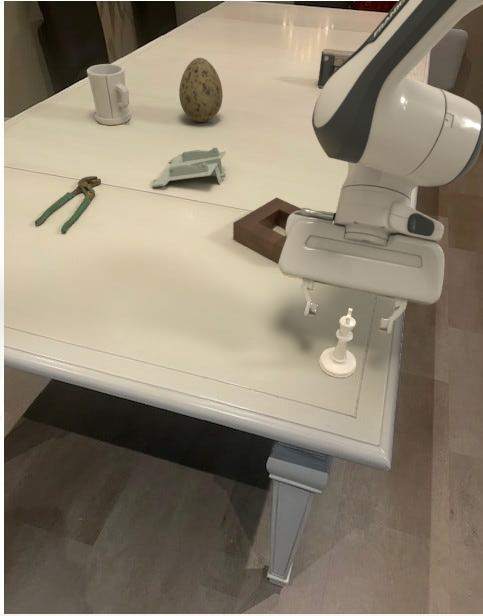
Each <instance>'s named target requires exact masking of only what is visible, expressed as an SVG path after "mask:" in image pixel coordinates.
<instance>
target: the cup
mask: <svg viewBox="0 0 483 616" xmlns="http://www.w3.org/2000/svg"><path fill="white" fill-rule="evenodd" d="M86 69H87V70H86V75H87V78H88V81H89V86H90V89H91V93H92V98H93V102H94V107H95V113H94V117H95V120H96V122H97V123H99V124H101V125H104V126H118V125H122V124H125V123H127V122H128V121H129V120H130V119H131V112H130V110H129V108H128V106H129V105H130V92H129V89H128V87H127V86H126V77H125V76H126V75H125V68H124V66H123V65H119V64H113V63H103V64H102V63H101V64H96V65H92V66H89V67H88V68H86Z"/></svg>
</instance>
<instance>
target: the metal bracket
mask: <svg viewBox="0 0 483 616" xmlns="http://www.w3.org/2000/svg"><path fill="white" fill-rule="evenodd" d="M226 154H227V152H226V151H219V149H218V148H217V147H216V146H214V147H212V148H211V149H210V150H202V149H195V150H188V151H183V152H182V153H179V154H178V155H176V156H175V157H173V158H171V159H170V160H169V161H168V163H169V165H168V166H167V167H166V168H165V170H164V171H163V172H162V174H161V175H160V176H159V177H158V178H155V179H152V181H151V187H152V188H156V187H157V188H158V187H164V186H166V185H167V184H168V183H169V182H170V181H172V182H173V181H180V180H187V179H188V180H189V179H194V178H195V179H196V178H203V177H209V176H211V175H212V174H213V172H215V176H216V179H217V183H218V185H221V184H222V182H223V181H224V179H225V178H227V173H225V172H224V168H223V165H222V159H223V158H224V156H225V155H226Z"/></svg>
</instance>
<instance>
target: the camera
mask: <svg viewBox="0 0 483 616" xmlns="http://www.w3.org/2000/svg"><path fill="white" fill-rule="evenodd" d="M354 52H355V51H354V50H353V51H351V50H344V49H333V48H323V49H322V51H321V54H320V55H321V56H320V64H319V71H318V72H319V73H318V80H317V86H318V88H319V89H323V87H324V85H325V83H326V82H327V80H328V79H329V78H330V76H331V75H332V74H333V72H334V71H335V70H336V69H337V68H338V67H339V66H340V65H341V64H342V63H343V62H344V61H345V60H347V59H348V58H349V57H350V56H351V55H352V54H353V53H354Z"/></svg>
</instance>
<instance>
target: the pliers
mask: <svg viewBox="0 0 483 616" xmlns="http://www.w3.org/2000/svg"><path fill="white" fill-rule="evenodd" d="M101 183H102V180H101V178H98V176H97V175H90V176H85V177H82V178H80V179H79V180H78V182H77V187H76V188H74V190H73V191H71V192H69V191H67V192H66V193H65V194H63V196H61V197H60V198H59V199H57V201H55V202H54V203H53V204H51V205H50V206H49V207H48V208H47V209H46V210H45V211H44V212H42V214H41V216H39V217H38V218H37V219H36V220H35V221H34V224H35V226H40V225H41V224H43V223H44V222H45V221H46V220H47V218H48V217H49V216H50V215H51V214H52V213H53V212H55V211H57V210H58V209H59V208H60V207H62V206H63V205H64V204H65V203H66V202H68V201H69V200H70V199H72V198H73V197H75V196H76V195H78V194H81V193H83V194H84V195H85V196H84V198H83V199H82V201H81V203H80V204H79V206H78V207H77V209H75V211H74V213H73V214H72V215H71V217H70V218H68V220H66V221H65V222H64V223H63V224H62V226H61V228H60V232H61V233H64V234H65V233H66V232H67V230H68V229H69V228H70V227H71V226H72V225H73V224H74V223H75V222H76V221H77V220H78V218H79V217H80V216H81V215H82V213H83V212H84V211H85V209H87V207H88V206H89V204H90V203H91V200H92V199H93V198H94V197H95V195H96V191H95V190H94V188H93V187H95V186H98V185H100V184H101ZM88 191H89V192H88Z"/></svg>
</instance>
